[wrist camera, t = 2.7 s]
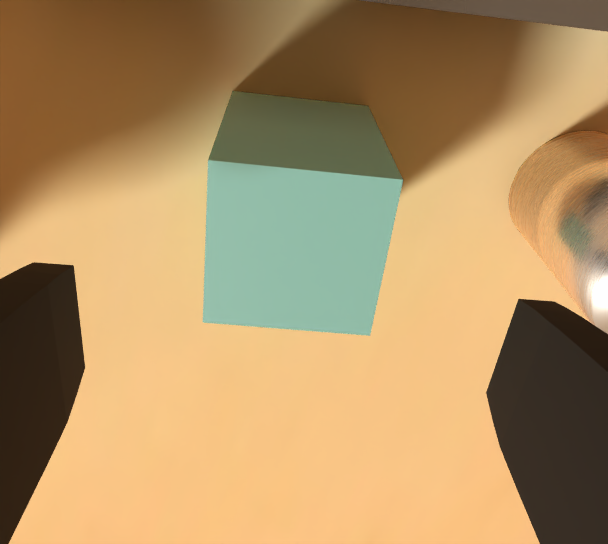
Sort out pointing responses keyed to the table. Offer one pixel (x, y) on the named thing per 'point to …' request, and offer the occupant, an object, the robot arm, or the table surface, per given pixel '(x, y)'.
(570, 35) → the table surface
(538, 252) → the round peg
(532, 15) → the bore block
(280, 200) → the square peg
